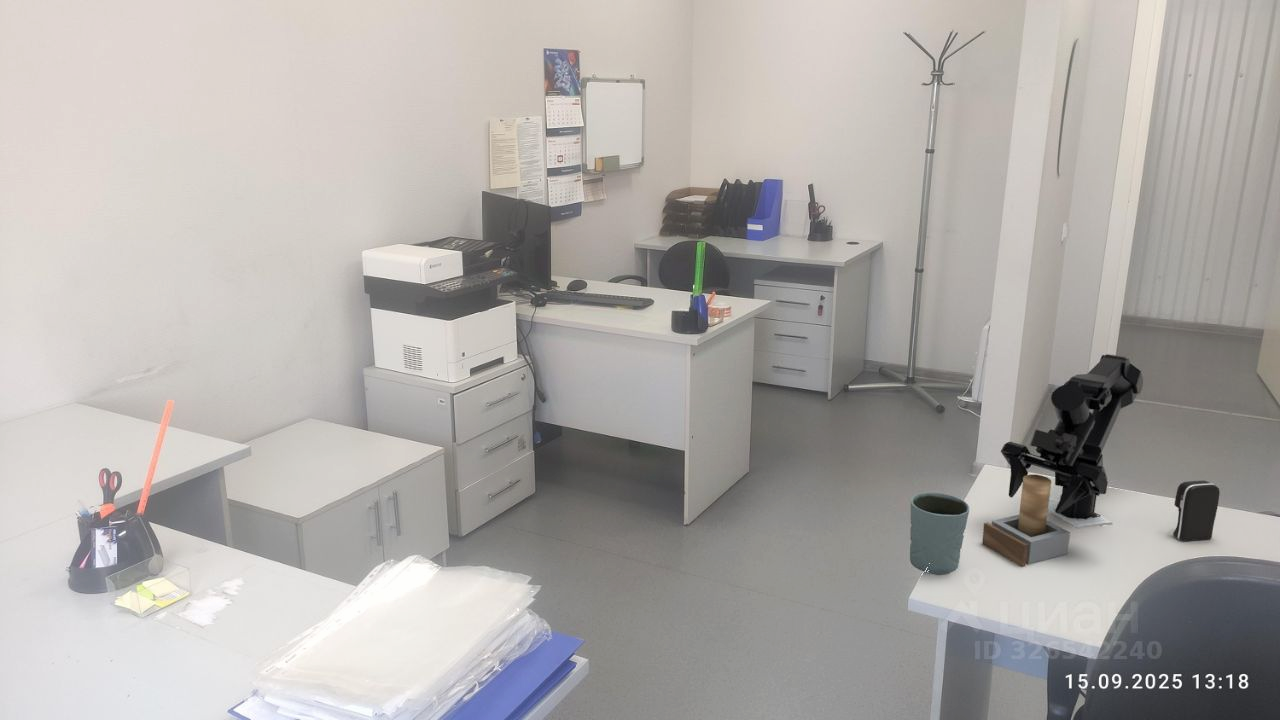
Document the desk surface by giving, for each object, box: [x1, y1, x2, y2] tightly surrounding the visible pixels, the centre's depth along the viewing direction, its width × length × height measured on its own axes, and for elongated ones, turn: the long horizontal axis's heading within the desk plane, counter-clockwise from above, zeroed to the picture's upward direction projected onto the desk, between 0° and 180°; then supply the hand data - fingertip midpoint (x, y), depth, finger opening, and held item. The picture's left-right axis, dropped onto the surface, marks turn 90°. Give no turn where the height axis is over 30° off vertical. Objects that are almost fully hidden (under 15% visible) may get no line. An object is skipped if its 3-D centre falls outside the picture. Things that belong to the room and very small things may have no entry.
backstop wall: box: [981, 522, 1028, 568], centre depth 166 cm, size 1×10×4 cm, turn 23°
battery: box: [1173, 480, 1221, 542], centre depth 172 cm, size 7×4×11 cm, turn 98°
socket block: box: [991, 514, 1071, 565], centre depth 168 cm, size 10×10×4 cm
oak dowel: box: [1018, 474, 1052, 537], centre depth 167 cm, size 5×5×13 cm
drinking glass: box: [909, 492, 970, 575], centre depth 163 cm, size 10×10×12 cm
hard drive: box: [1048, 497, 1114, 529], centre depth 183 cm, size 2×8×12 cm
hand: (1032, 504), depth 166 cm, fingers open, 9 cm apart
